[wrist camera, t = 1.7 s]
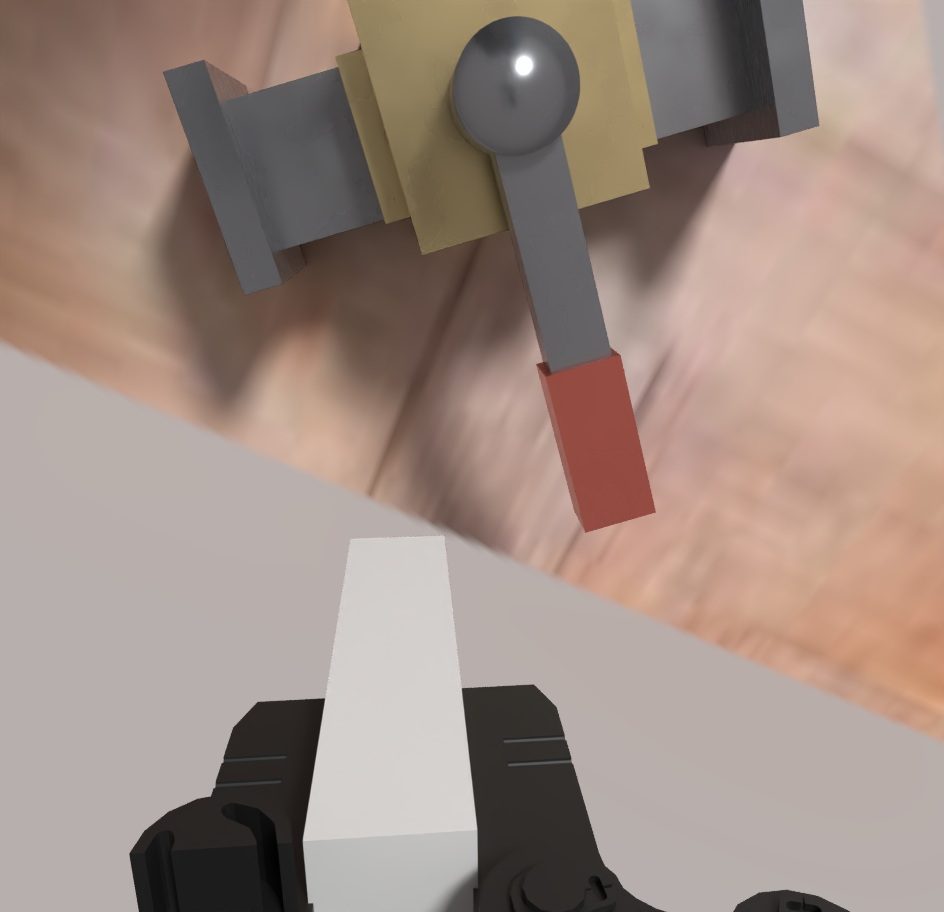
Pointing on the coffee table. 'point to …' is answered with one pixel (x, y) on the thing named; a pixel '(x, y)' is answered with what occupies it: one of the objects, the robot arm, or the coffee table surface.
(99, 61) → the coffee table surface
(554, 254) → the lever
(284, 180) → the valve body
